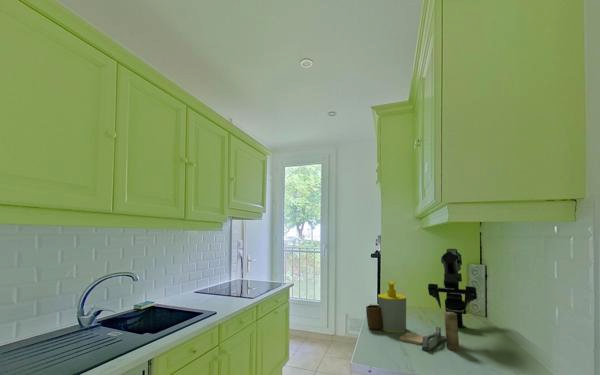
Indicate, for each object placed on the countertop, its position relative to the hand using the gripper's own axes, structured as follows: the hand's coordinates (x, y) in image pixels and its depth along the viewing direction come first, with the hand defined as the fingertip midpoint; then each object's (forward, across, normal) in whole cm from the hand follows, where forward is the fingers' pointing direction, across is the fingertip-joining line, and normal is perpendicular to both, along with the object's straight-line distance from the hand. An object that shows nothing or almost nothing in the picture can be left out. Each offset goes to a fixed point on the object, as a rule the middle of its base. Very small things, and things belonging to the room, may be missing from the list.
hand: (452, 308), depth 127 cm
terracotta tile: (+12, -15, +6) cm, 20 cm away
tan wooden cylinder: (+15, 0, +3) cm, 15 cm away
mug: (+6, -34, +13) cm, 37 cm away
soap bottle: (+5, -26, +14) cm, 30 cm away
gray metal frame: (+14, -8, +5) cm, 16 cm away
